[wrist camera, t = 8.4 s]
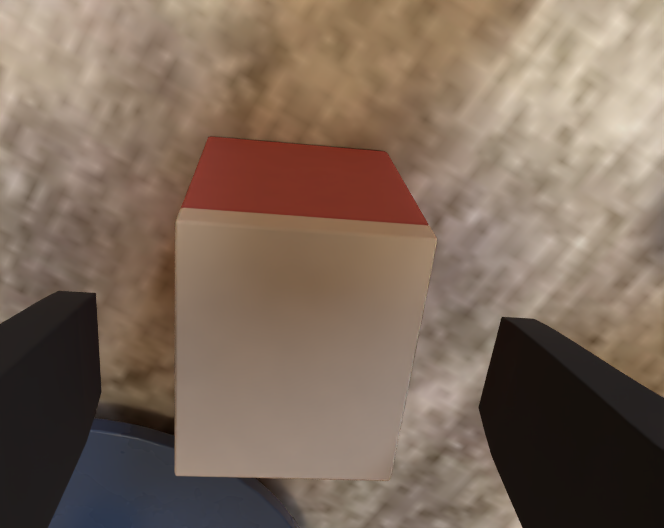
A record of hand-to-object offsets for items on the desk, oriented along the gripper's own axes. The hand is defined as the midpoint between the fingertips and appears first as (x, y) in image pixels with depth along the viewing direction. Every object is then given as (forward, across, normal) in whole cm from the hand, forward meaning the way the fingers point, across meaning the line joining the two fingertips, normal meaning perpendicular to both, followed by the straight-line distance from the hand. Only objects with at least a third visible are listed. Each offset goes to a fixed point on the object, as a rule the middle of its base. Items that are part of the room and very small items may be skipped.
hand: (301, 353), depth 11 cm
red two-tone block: (+4, 0, 0) cm, 4 cm away
